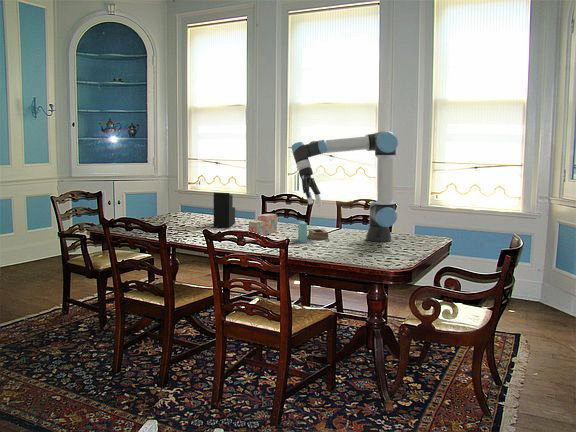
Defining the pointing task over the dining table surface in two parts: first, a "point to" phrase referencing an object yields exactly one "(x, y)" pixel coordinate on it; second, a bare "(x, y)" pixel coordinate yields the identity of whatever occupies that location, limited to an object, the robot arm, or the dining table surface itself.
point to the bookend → (223, 210)
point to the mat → (302, 243)
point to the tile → (302, 232)
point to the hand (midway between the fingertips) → (315, 204)
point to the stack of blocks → (264, 224)
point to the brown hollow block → (318, 234)
